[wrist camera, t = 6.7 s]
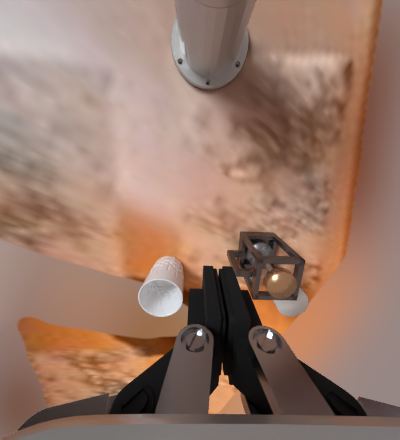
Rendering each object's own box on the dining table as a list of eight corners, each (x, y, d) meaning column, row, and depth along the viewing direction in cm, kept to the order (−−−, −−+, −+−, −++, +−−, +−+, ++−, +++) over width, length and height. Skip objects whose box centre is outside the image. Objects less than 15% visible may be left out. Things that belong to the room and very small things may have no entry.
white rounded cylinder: (265, 268, 43) (279, 289, 36) (291, 268, 44) (311, 290, 36) (261, 290, 45) (275, 316, 37) (286, 291, 45) (305, 316, 38)
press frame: (226, 231, 41) (238, 258, 29) (273, 232, 41) (305, 260, 29) (223, 261, 43) (234, 298, 31) (268, 262, 43) (296, 300, 31)
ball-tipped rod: (248, 241, 38) (267, 270, 28) (273, 242, 38) (302, 271, 28) (245, 264, 40) (262, 300, 29) (270, 265, 40) (296, 301, 29)
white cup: (193, 266, 43) (191, 295, 34) (171, 290, 45) (164, 324, 35) (165, 246, 42) (155, 270, 32) (144, 271, 43) (129, 301, 34)
